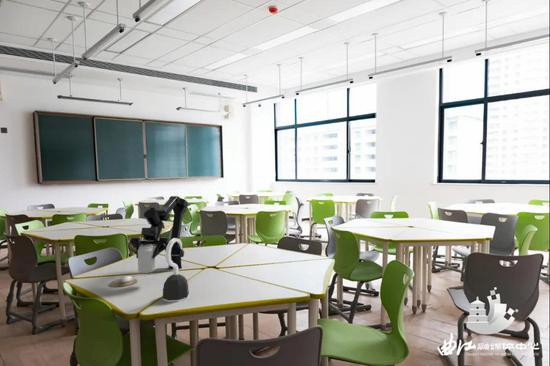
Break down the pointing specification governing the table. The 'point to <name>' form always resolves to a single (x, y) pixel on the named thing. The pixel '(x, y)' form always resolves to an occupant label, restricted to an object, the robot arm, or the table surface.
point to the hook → (174, 279)
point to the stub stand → (123, 281)
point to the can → (146, 259)
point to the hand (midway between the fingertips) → (145, 258)
